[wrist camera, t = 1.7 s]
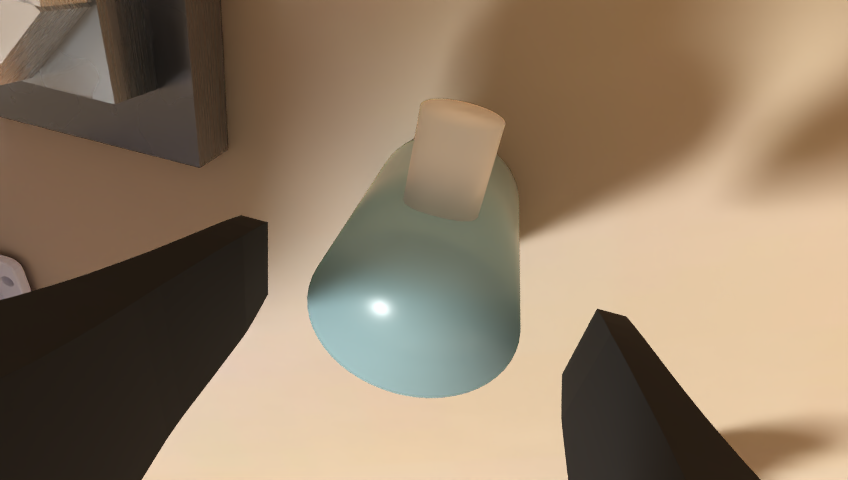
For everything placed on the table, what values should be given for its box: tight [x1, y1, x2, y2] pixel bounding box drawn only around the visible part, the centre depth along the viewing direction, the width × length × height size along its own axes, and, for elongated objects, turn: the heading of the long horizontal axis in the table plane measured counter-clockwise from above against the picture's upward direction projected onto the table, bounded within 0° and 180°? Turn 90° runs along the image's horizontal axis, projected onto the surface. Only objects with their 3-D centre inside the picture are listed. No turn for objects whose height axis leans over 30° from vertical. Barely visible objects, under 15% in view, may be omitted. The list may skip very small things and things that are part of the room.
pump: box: [307, 99, 520, 398], centre depth 11 cm, size 6×4×6 cm
